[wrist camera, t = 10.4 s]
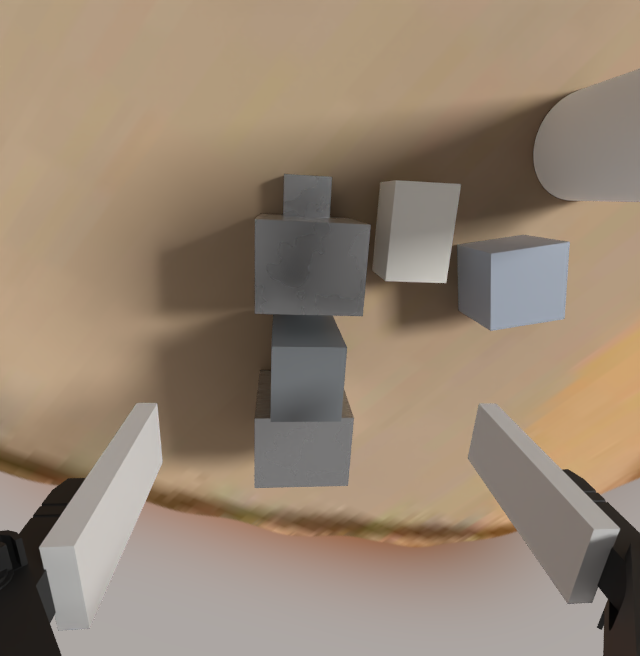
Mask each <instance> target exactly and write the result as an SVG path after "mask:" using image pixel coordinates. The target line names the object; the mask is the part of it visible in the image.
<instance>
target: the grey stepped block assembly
mask: <svg viewBox="0 0 640 656" xmlns="http://www.w3.org/2000/svg"><path fill="white" fill-rule="evenodd" d="M331 186H332V177H325V176H309V175H292V174H284V198H283V215H280V214H260V215H259V216H258V217H257V218H256V219H255V314H287V315H332V316H363V307H364V296H365V284H366V273H367V261H368V250H369V239H370V227H371V225H370V224H367V223H364V222H360V221H357V220H354V219H351V218H342V217H330V204H331ZM270 421H271V370H260V374H259V383H258V392H257V402H256V411H255V488H273V487H314V486H348V478H349V467H350V455H351V444H352V433H353V421H354V417H353V414H352V411H351V408H350V405H349V402H348V399H347V396H346V394H345V391H344V393H343V406H342V419H341V422H270Z"/></svg>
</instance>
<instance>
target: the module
mask: <svg viewBox="0 0 640 656" xmlns="http://www.w3.org/2000/svg"><path fill="white" fill-rule="evenodd" d="M346 354H347V347H346V344H345V342H344V340H343V338H342V335H341V333H340V331H339V329H338V327H337V324H336V322H335V320H334V318H333V316H332V315H287V314H273V328H272V355H271V421H270V422H341V419H342V406H343V393H344V380H345V367H346Z"/></svg>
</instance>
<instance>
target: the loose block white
mask: <svg viewBox="0 0 640 656" xmlns="http://www.w3.org/2000/svg"><path fill="white" fill-rule="evenodd" d="M460 189H461V184H451V183H434V182H417V181H401V180H394V181H386V182H380V191H379V202H378V213H377V223H376V234H375V245H374V256H373V267H372V271H374V272H375V273H376V274H377V275H379V276H380V277H381V278H382V279H383V280H385V281H397V282H428V283H446V281H447V275H448V268H449V261H450V255H451V248H452V242H453V235H454V228H455V222H456V215H457V209H458V202H459V195H460Z"/></svg>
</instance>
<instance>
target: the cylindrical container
mask: <svg viewBox="0 0 640 656" xmlns="http://www.w3.org/2000/svg"><path fill="white" fill-rule="evenodd" d="M533 162H534V167H535V172H536V174H537V177H538V179H539V181H540V183H541V184H542V186H543V187H544V188H545V189H546V190H547V191H548V192H549V193H550V194H552V195H553V196H555V197H557V198H560V199H563V200H569V201H616V202H640V69H637V70H634V71H632V72H629V73H626V74H623V75H620V76H617V77H615V78H612V79H609V80H606V81H603V82H601V83H598V84H595V85H592V86H589V87H586V88H584V89H581V90H578V91H576V92H573V93H571V94H569V95H567V96H566V97H564V98H563V99H561V100H560V101H559V102H558V103H557V104H556V105H555V106H554V107H553V108H552V109H551V110H550V111H549V113H548V114H547V115H546V117H545V118H544V120H543V122H542V124H541V125H540V128H539V130H538V133H537V136H536V139H535V144H534V150H533Z"/></svg>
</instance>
